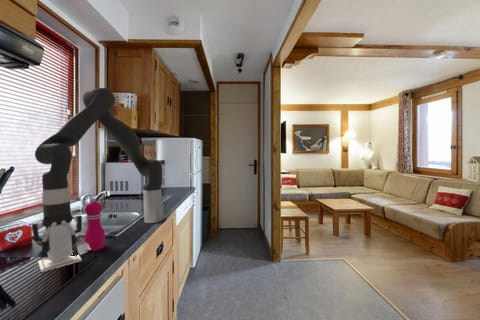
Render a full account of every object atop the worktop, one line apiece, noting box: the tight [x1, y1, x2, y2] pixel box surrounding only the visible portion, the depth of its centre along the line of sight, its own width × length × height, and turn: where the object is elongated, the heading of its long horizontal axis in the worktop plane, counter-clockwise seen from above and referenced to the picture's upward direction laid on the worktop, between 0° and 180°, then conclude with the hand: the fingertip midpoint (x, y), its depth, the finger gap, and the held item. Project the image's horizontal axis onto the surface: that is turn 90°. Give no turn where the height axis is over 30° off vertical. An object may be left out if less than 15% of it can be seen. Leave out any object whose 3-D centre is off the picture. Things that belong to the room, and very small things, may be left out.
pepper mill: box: [83, 197, 106, 252], centre depth 95 cm, size 7×7×20 cm
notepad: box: [37, 254, 83, 273], centre depth 84 cm, size 11×10×1 cm
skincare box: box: [44, 222, 73, 262], centre depth 83 cm, size 6×4×12 cm
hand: (59, 248), depth 84 cm, fingers closed on skincare box, 6 cm apart
